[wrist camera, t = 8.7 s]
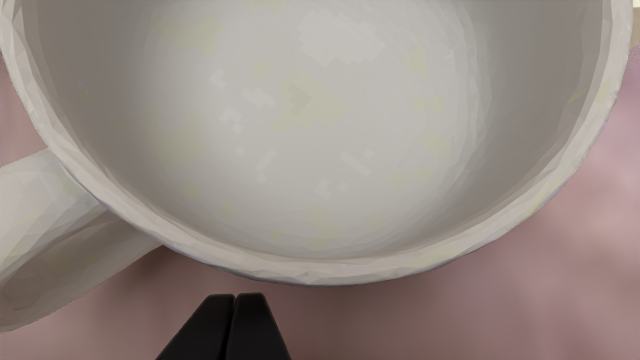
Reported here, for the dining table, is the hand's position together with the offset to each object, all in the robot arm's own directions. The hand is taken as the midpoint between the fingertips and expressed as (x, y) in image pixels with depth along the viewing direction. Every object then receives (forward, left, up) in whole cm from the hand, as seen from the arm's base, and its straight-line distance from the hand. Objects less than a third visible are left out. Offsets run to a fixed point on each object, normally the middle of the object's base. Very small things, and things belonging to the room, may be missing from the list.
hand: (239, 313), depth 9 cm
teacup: (+4, +3, -7) cm, 8 cm away
